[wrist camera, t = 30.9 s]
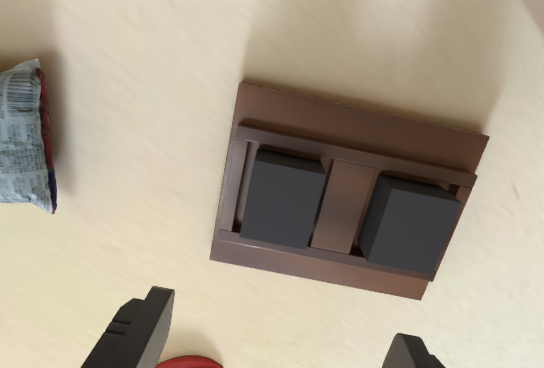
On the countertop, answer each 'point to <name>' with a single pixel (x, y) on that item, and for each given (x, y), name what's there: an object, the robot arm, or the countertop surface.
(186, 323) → the countertop surface
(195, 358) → the cayenne pepper
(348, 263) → the brown base tray
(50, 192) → the packaged food
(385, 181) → the dark grey block
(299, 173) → the dark gray block
